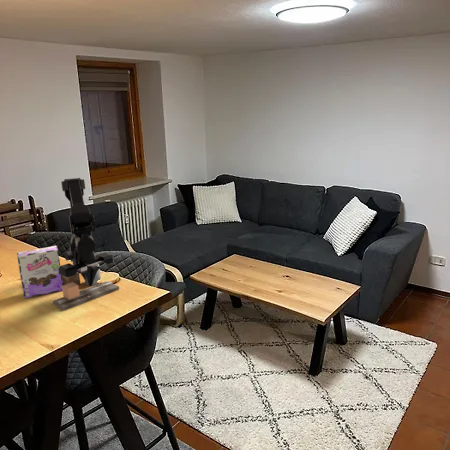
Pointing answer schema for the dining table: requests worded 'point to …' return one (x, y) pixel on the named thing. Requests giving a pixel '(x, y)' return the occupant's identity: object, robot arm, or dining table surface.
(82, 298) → the board
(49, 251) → the candy box
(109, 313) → the dining table surface
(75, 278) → the walnut block
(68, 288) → the peach cube
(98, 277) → the grey rounded cylinder
